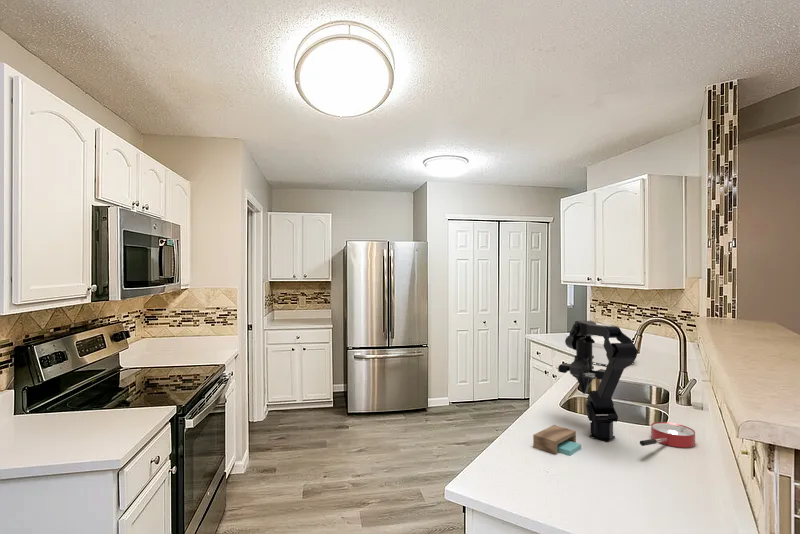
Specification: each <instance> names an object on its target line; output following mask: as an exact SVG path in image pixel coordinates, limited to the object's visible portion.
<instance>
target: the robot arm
mask: <svg viewBox="0 0 800 534" xmlns="http://www.w3.org/2000/svg"><path fill="white" fill-rule="evenodd" d="M594 336H595V337H604V339H605V340H604V345H603V346H604V348H605V350H606V352H607V353H606V356H607V358H608V361H609V363H608V365H607V366H606V369H603V368H600V369H598V370H594V366H593V364H592V359H593V358H594V356H592V343H595V341H594V340H593V339H592V338H591V337H594ZM609 338H616V339H617V340H618V341H620V342H621V343H610V341H609ZM632 341H633V339H631V338H630V337H629V336H627V334H625V333H624V332H623V331H622V330H621V328H620V327H619V326H616V325H603V324H597V322H595V321H592V320H575V321H574V324H573V325H572V327H571V330H570V331H569V335H567V336H566V338H565V341H564V344H565V346H566V347H567V348H569V349H572V350H574V351H575V352H576V353H575V354H576V355H574V360H573V361H572V362H571V363H567V362H566V363H565V362H564V363H561V364H559V365H558V366H557V367H558V368H557V372H558V373H563V374H566V373H568V372H569V374H570V375H571V376H572V377H574V378H575V379H576V380H577V382H578V385H579V387H580V391H581V392H582V394H583V395H585V394H587V392H588V390H589V388H590V385H591V383H592V382H593V380H594V379H597V380H600V382H599V385H598V388H597V390H590V391H589V393H588V396H587V397H586V402H585V409H586V416H587V419H588V421H589V422H590V431H589V432H590V434H589V437H590V438H593V439H597V440H600V441H604V442H606V443H609V442H611V441H612V440H614V439H615V438H616V436H615V435H614V423H617V422H618V421H619V415H618V413H617V411H616V409H615V407H614V406H615V404H614V401H613V399H612V398H613V396H614V393H615V391H616V389H617V385H618V384H619V382H620V379H621V377H622V375H623V373H624V370H625V369H626V368H628V367H629V366H631V365H633V364H634V363H635V362H634V360H635V361H636V359H637V356H638V348H637V349H636V347H637V346H635V345H634V344H633V342H632ZM633 362H634V363H633ZM632 363H633V364H632Z"/></svg>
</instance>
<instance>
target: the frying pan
mask: <svg viewBox="0 0 800 534" xmlns="http://www.w3.org/2000/svg"><path fill="white" fill-rule="evenodd" d="M650 430H651V431H650V436H651V438H649V439H644V440H640V441H639V445H640V446H641V447H644V446H650V445H655V444H657V443H659V444H661V445H663V446H667V447H670V448H678V449H690V448H693V447H694V446H695V445H696V431H695V430H694V429H693V428H690V427H688V426H685V425H683V424H679V423H673V422H669V421H668V422H667V421H665V422H664V421H659V422H658V421H657V422H653V423H651V424H650Z"/></svg>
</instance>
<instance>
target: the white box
mask: <svg viewBox="0 0 800 534" xmlns="http://www.w3.org/2000/svg"><path fill="white" fill-rule="evenodd" d="M591 338H592V339H593V340H594V341H595V343H592V356H594V358H593V359H592V363H596V364H601V365H608V363H609V361H608V358H607V356H606V353H607V352H606V350H605V348H604V346H603V345H604V340H605V339H604V337H602V336H591ZM609 341H610V343H621V342H620V341H618V340H617V339H616V338H609ZM634 363H636V359H635V360H634V362H633V364H634ZM601 365H600V366H601Z"/></svg>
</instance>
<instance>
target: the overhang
mask: <svg viewBox="0 0 800 534" xmlns="http://www.w3.org/2000/svg"><path fill="white" fill-rule="evenodd" d="M532 437H533V444H532V445H533V448H534V447H535V449H537V448H538V450H540V451H544V452H547V453H548V454H549V453H550V454H552V455H554V456H555V455H558V452H557V444H559V443H561V442H563V441H565V440H568V441H571V442H575V443H577V431H576V430H574V429H569V428H566V427H563V426H560V425H557V424H556V425H555V424H552V425H550V426H549V427H546V428H544V429H543V430H540V431H538V432H536V433H533V435H532Z"/></svg>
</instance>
